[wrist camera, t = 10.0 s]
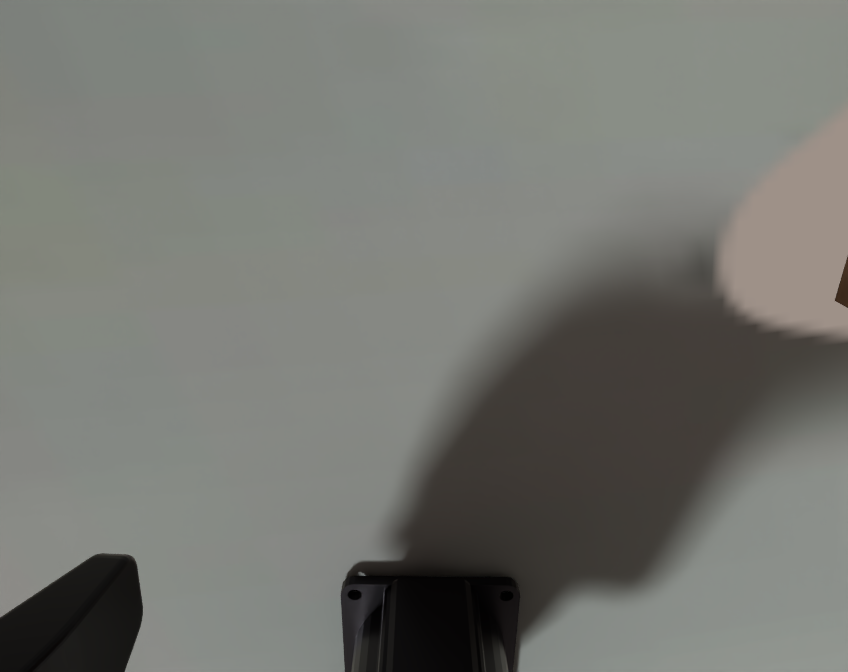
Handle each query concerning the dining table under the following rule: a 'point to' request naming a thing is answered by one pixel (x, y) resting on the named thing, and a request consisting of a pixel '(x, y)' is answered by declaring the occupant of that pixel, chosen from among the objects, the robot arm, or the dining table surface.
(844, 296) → the socket board
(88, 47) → the dining table surface
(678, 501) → the dining table surface
